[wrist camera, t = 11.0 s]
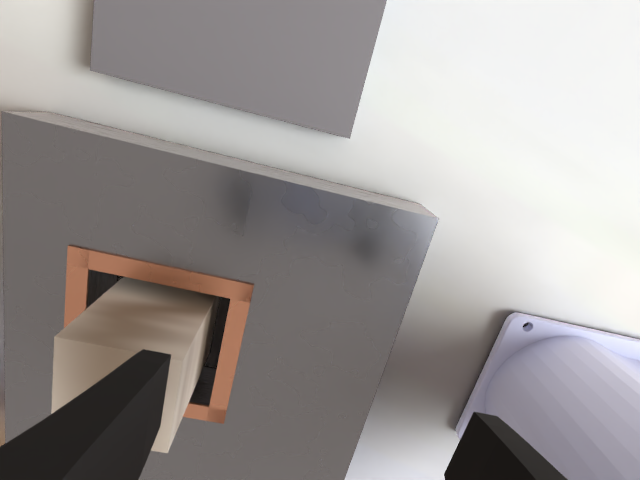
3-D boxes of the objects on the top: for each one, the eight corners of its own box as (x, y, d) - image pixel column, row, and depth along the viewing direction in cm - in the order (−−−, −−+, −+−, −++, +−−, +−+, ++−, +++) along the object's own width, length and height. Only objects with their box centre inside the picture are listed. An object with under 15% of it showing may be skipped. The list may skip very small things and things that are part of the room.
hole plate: (420, 204, 17) (439, 219, 14) (330, 466, 22) (333, 511, 19) (49, 112, 15) (-1, 111, 13) (41, 418, 20) (3, 461, 17)
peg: (223, 282, 18) (182, 361, 12) (209, 352, 19) (167, 453, 13) (137, 264, 17) (54, 336, 12) (129, 337, 19) (50, 434, 13)
